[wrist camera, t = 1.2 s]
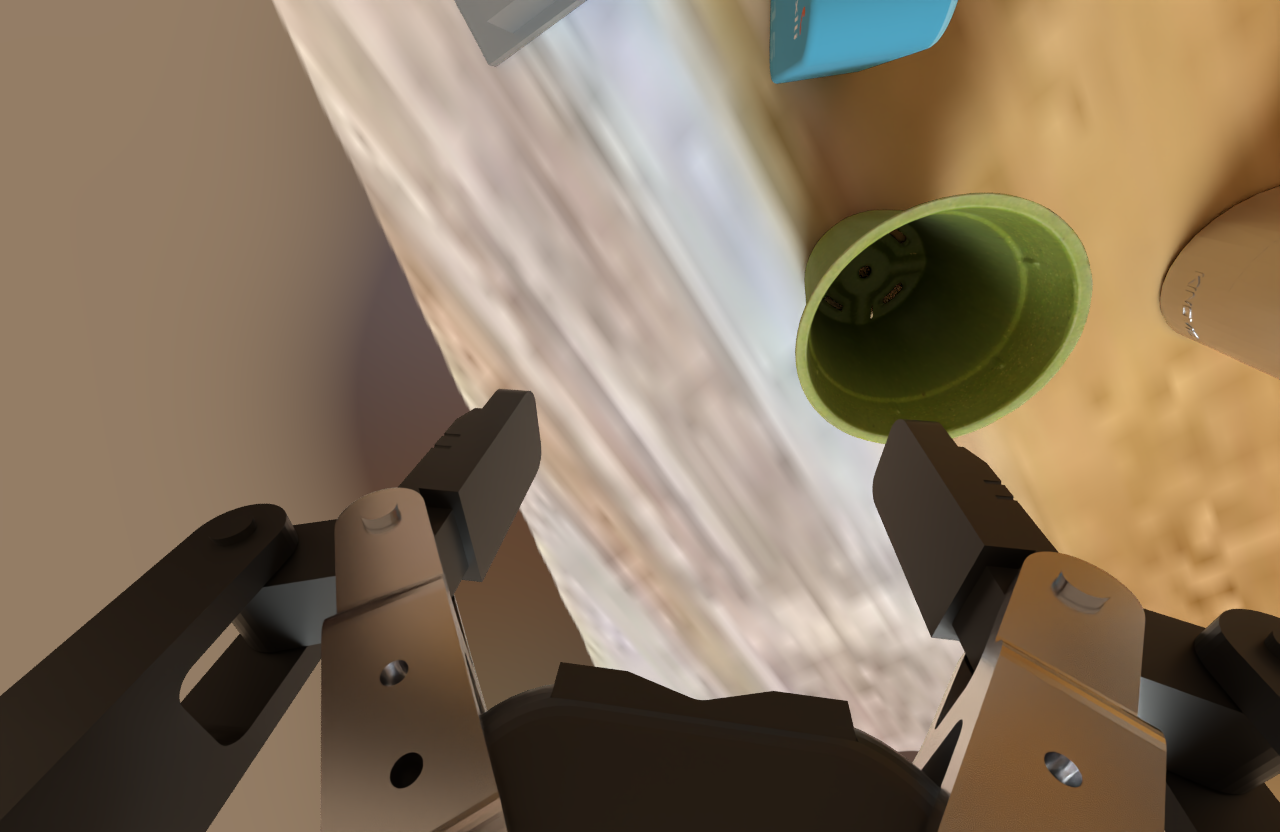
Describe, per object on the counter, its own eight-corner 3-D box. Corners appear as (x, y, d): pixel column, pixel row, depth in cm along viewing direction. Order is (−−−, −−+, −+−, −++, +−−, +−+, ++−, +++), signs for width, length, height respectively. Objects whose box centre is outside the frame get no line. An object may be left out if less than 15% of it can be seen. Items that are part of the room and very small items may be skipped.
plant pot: (751, 344, 34) (769, 430, 24) (795, 157, 27) (842, 176, 18) (919, 365, 33) (1004, 462, 24) (1003, 179, 27) (1166, 211, 17)
